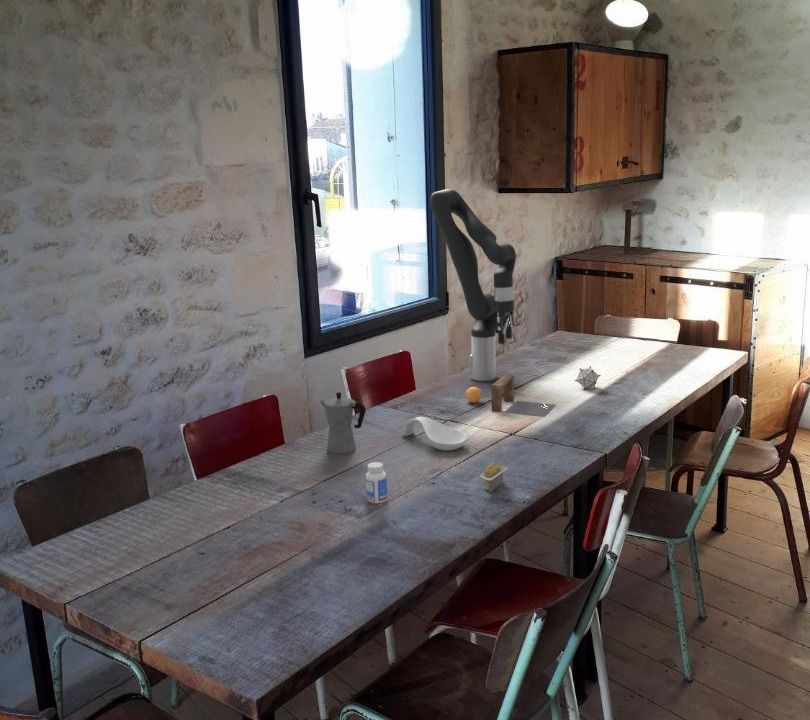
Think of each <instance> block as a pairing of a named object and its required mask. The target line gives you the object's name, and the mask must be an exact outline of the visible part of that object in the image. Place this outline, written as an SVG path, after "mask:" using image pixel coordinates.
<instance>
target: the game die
mask: <svg viewBox="0 0 810 720" xmlns="http://www.w3.org/2000/svg"><path fill="white" fill-rule="evenodd" d="M601 376H602V375H601V374H597V373H596V371H594V369H592V367H591V365H590V366H589V368H581V367H580V368H579V373H578V376H577V377H576V379H574V382H577V383H579V385H581V387H582V386H583V388H584V389H583V390H584V391H586V389H589V388H594V389H596V385H597V381H598V379H599V377H601Z"/></svg>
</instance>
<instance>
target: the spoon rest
mask: <svg viewBox="0 0 810 720" xmlns="http://www.w3.org/2000/svg"><path fill="white" fill-rule="evenodd" d="M416 423H419V424H420V425H421V426H422V428H423V431H424V434H425V437H426V438H427V439H428V441H429V443H430V445H431V446H432V447H434V448H436V449H437V450H439V451H447V452H448V451H454V450H457V449H460V448H461V447H462V446H464V444H465V443H466V442H467V440H468V438H467V435H466V434H465V433H463V432H462V431H459V430H457V429H455V428H452V427H450V426H447V425H445V424H443V423H441V422H438V421H436V420H434V419H431V418H429V417H425V416H417V417H415V418H411V419H408V420H407V421H406V423H405V424H404V426H403V429H402V432H401V435H402V436H403V437H407V436H411V435H413V434H414V433H415V424H416Z"/></svg>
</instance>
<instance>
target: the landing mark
mask: <svg viewBox="0 0 810 720" xmlns="http://www.w3.org/2000/svg"><path fill="white" fill-rule="evenodd" d="M543 403H544V402H536V401H535V402H533V401H526V400H519V399H517V400H516V401H515V402H514V403H513V404H511V405H510V406H509V407H508V408H507V409H505V411H504V413H506V414H507V413H508V414H516V415H517V414H518V415H523V416H524V415H526V416H533V415H535V416H534V417H542V416H544V417H545V416H546V415H548V414H549V412H550V411H552V409H553V408H555V407H556V405H557V404H554V403H546V402H545V403H544V404H545V405H546V406H548V407H545V406H544V404H543ZM541 406H542V407H541ZM543 407H545V408H543ZM546 408H547V409H546Z"/></svg>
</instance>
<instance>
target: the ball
mask: <svg viewBox="0 0 810 720" xmlns="http://www.w3.org/2000/svg"><path fill="white" fill-rule="evenodd" d="M465 398H466V400H467V401H468V402H470V403H472V404H473V403H474V404H475V403H478V402H479V401H480V400H481V399H482V391H481V390H480V388H478V387H476V386H471V387H469V388H468V389H467V390H466V392H465Z"/></svg>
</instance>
